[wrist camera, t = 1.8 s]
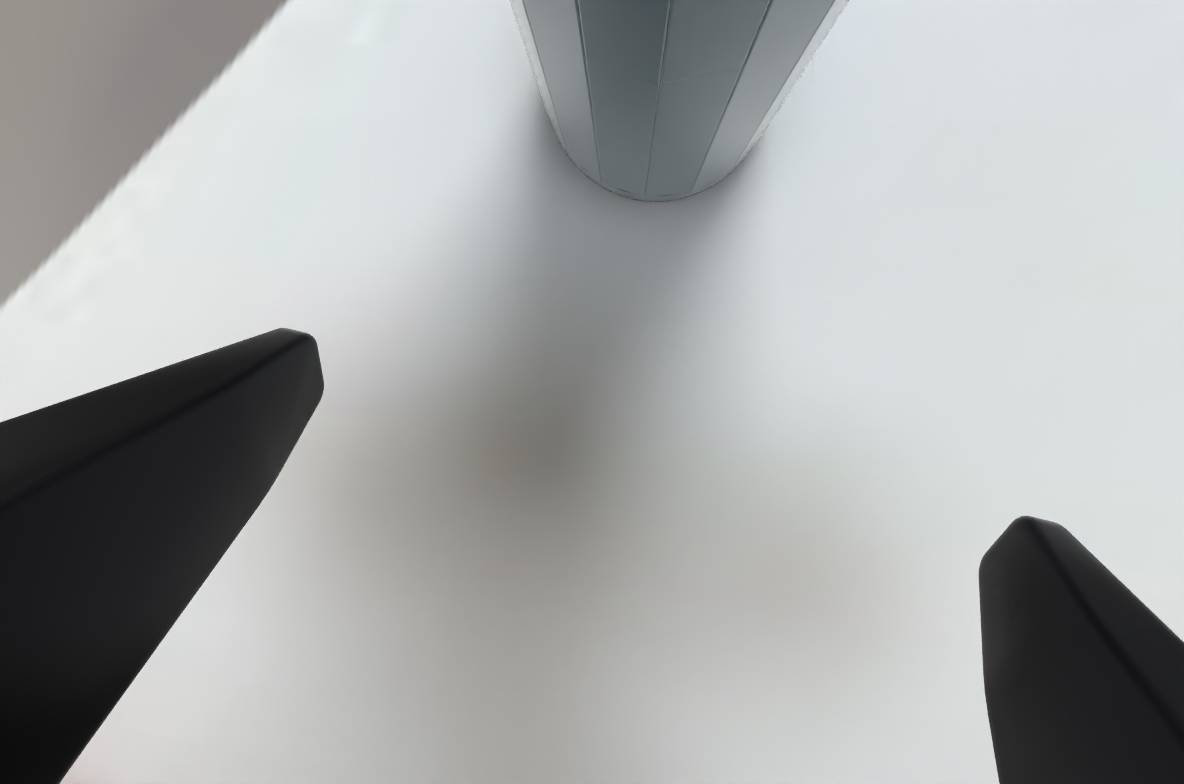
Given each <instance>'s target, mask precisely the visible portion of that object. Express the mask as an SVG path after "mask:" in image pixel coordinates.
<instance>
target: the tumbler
mask: <svg viewBox="0 0 1184 784" xmlns="http://www.w3.org/2000/svg"><path fill="white" fill-rule="evenodd" d="M848 1H849V0H510V2H511V5H512V8H513V12H514V15H515V18H516V21H517V24H518V27H519V30H520V33H521V36H522V39H523V42H524V45H525V48H526V51H527V54H528V57H529V60H530V63H531V66H532V69H533V72H534V75H535V78H536V82H537V85H538V88H539V91H540V94H541V97H542V100H543V103H544V106H545V109H546V112H547V115H548V117H549V119H550V121H551V123H552V125H553V127H554V130H555V132H556V135H557V137H558V139H559V142H560V143H561V145H562V147H563V149H564V150H565V152H566V154H567V155H568V156H569V158H570V159H571V160H572V161H573V163H574V164H575V165H576V166H577V167H578V168H579V169H580V170H581V171H582V172H583V173H584V174H585V175H586V176H587V177H588V178H590V179H591V180H592V181H594V182H595V183H596V184H598V185H600V186H602V187H603V188H605V189H607V190H609V191H611V192H613V193H616V194H618V195H621V196H624V197H628V198H632V199H636V200H643V201H669V200H676V199H681V198H684V197H688V196H691V195H694V194H697V193H699V192H701V191H703V190H706V189H708V188H709V187H711V186H713V185H714V184H716V183H718V182H719V181H721V180H722V179H723V178H724V177H726V176H727V175H728V174H729V173H731V172H732V171H733V170H734V169H735V168H736V167H737V166H738V165H739V164H740V163H741V162H742V160H743V159H744V158H745V156H746V155H747V154H748V152H749V151H750V150H751V148H752V147H753V146H754V144H755V143H756V142H757V141H758V140H759V138H760V137H761V136H762V134H763V133H764V131H765V130H766V128H767V127H768V125H769V124H770V122H771V121H772V119H773V117H774V116H775V114H776V113H777V111H778V110H779V108H780V107H781V105H782V104H783V102H784V100H785V99H786V97H787V96H788V94H789V93H790V91H791V90H792V88H793V87H794V85H795V83H796V82H797V80H798V79H799V77H800V76H801V74H802V73H803V71H804V70H805V68H806V66H807V65H808V63H809V62H810V60H811V59H812V57H813V56H814V54H815V53H816V51H817V49H818V48H819V46H820V45H821V43H822V42H823V40H824V39H825V37H826V35H827V34H828V32H829V31H830V29H831V28H832V26H833V25H834V23H835V22H836V20H837V18H838V17H839V15H840V14H841V12H842V11H843V9H844V8H845V6H846V5H847V3H848Z"/></svg>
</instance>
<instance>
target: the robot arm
mask: <svg viewBox="0 0 1184 784" xmlns="http://www.w3.org/2000/svg"><path fill="white" fill-rule="evenodd" d="M323 390H324V380H323V374H322V369H321V363H320V358H319V352H318V346H317V342H316V340H315V339H314V337H313V336H311V335H310V334H307V333H304V332H300V331H296V330H292V329H287V328H279V329H276V330H273V331H270V332H267V333H264V334H261V335H258V336H255V337H252V338H249V339H246V340H243V341H240V342H237V343H234V344H231V345H228V346H226V347H223V348H220V349H217V350H214V351H211V352H208V353H205V354H202V355H199V356H196V357H193V358H190V359H187V360H184V361H181V362H178V363H175V364H172V365H169V366H166V367H163V368H160V369H157V370H154V371H151V372H149V373H146V374H143V375H140V376H137V377H134V378H131V379H128V380H125V381H122V382H119V383H116V384H113V385H110V386H107V387H104V388H101V389H98V390H95V391H92V392H89V393H86V394H83V395H80V396H77V397H75V398H72V399H69V400H66V401H63V402H60V403H57V404H54V405H51V406H48V407H45V408H42V409H39V410H36V411H33V412H30V413H27V414H24V415H21V416H18V417H15V418H12V419H9V420H6V421H3V422H1V423H0V784H59V783H60V782H61V780H62V779H63V777H64V776H65V775H66V773H67V772H68V770H69V769H70V768H71V766H72V765H73V764H74V762H75V761H76V759H77V758H78V757H79V755H80V754H81V752H82V751H83V750H84V748H85V747H86V745H87V744H88V743H89V741H90V740H91V738H92V737H93V736H94V734H95V733H96V732H97V730H98V729H99V727H100V726H101V725H102V723H103V722H104V720H105V719H106V718H107V716H108V715H109V713H110V712H111V711H112V709H113V708H114V706H115V705H116V704H117V702H118V701H119V700H120V698H121V697H122V695H123V694H124V693H125V691H126V690H127V688H128V687H129V686H130V684H131V683H132V681H133V680H134V679H135V677H136V676H137V674H138V673H139V672H140V670H141V669H142V668H143V666H144V665H145V663H146V662H147V661H148V659H149V658H150V656H151V655H152V654H153V652H154V651H155V649H156V648H157V647H158V645H159V644H160V642H161V641H162V640H163V638H164V637H165V636H166V634H167V633H168V631H169V630H170V629H171V627H172V626H173V624H174V623H175V622H176V620H177V619H178V617H179V616H180V615H181V613H182V612H183V610H184V609H185V608H186V606H187V605H188V604H189V602H190V601H191V599H192V598H193V597H194V595H195V594H196V592H197V591H198V590H199V588H200V587H201V585H202V584H203V583H204V581H205V580H206V579H207V577H208V576H209V574H210V573H211V572H212V570H213V569H214V567H215V566H216V565H217V563H218V562H219V560H220V559H221V558H222V556H223V555H224V553H225V552H226V551H227V549H228V548H229V547H230V545H231V544H232V542H233V541H234V540H235V538H236V537H237V535H238V534H239V533H240V531H241V530H242V528H243V527H244V526H245V524H246V523H247V521H248V520H249V519H250V517H251V516H252V515H253V513H254V512H255V510H256V509H257V508H258V506H259V505H260V503H261V502H262V500H263V499H264V497H265V496H266V494H267V493H268V491H269V490H270V488H271V487H272V485H273V483H274V482H275V480H276V478H277V477H278V475H279V473H280V471H281V470H282V468H283V466H284V464H285V462H286V461H287V459H288V457H289V455H290V453H291V452H292V450H293V448H294V446H295V445H296V443H297V441H298V439H299V437H300V436H301V434H302V432H303V430H304V429H305V427H306V425H307V423H308V421H309V420H310V418H311V416H312V414H313V413H314V411H315V409H316V407H317V405H318V404H319V402H320V400H321V397H322V394H323ZM979 591H980V612H981V633H982V655H983V674H984V686H985V696H986V703H987V710H988V717H989V723H990V729H991V735H992V741H993V747H994V753H995V759H996V765H997V771H998V777H999V783H1000V784H1184V642H1183V641H1182V640H1181V639H1180V638H1179V637H1178V636H1177V635H1176V634H1175V633H1173V632H1172V631H1171V630H1170V629H1169V628H1168V627H1167V626H1166V625H1165V624H1164V623H1163V622H1162V621H1161V620H1160V619H1159V618H1158V617H1157V616H1156V615H1155V614H1154V613H1153V612H1152V611H1151V610H1150V609H1149V608H1148V607H1146V606H1145V605H1144V604H1143V603H1142V602H1141V601H1140V600H1139V599H1138V598H1137V597H1136V596H1135V595H1134V594H1133V593H1132V592H1131V591H1130V590H1129V589H1128V588H1127V587H1126V586H1125V585H1124V584H1123V583H1122V582H1121V581H1119V580H1118V579H1117V578H1116V577H1115V576H1114V575H1113V574H1112V573H1111V572H1110V571H1109V570H1108V569H1107V568H1106V567H1105V566H1104V565H1103V564H1102V563H1101V562H1100V561H1099V560H1098V559H1097V558H1096V557H1095V556H1094V555H1092V554H1091V553H1090V552H1089V551H1088V550H1087V549H1086V548H1085V547H1084V546H1083V545H1082V544H1081V543H1080V542H1079V541H1078V540H1077V539H1076V538H1075V537H1074V536H1073V535H1072V534H1071V533H1070V532H1069V531H1068V530H1067V529H1065V528H1064V527H1063V526H1061V525H1060V524H1057V523H1054V522H1051V521H1047V520H1043V519H1039V518H1035V517H1031V516H1021V517H1019V518H1017V519H1015V520H1014V521H1013V522H1012V523H1011V524H1010V525H1009V527H1008V528H1007V529H1006V530H1005V531H1004V532H1003V534H1002V535H1001V536H1000V537H999V538H998V539H997V541H996V542H995V543H994V544H993V545H992V546H991V547H990V549H989V550H988V551H987V552H986V553H985V555H984V556H983V558H982V560H981V564H980V568H979Z"/></svg>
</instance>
